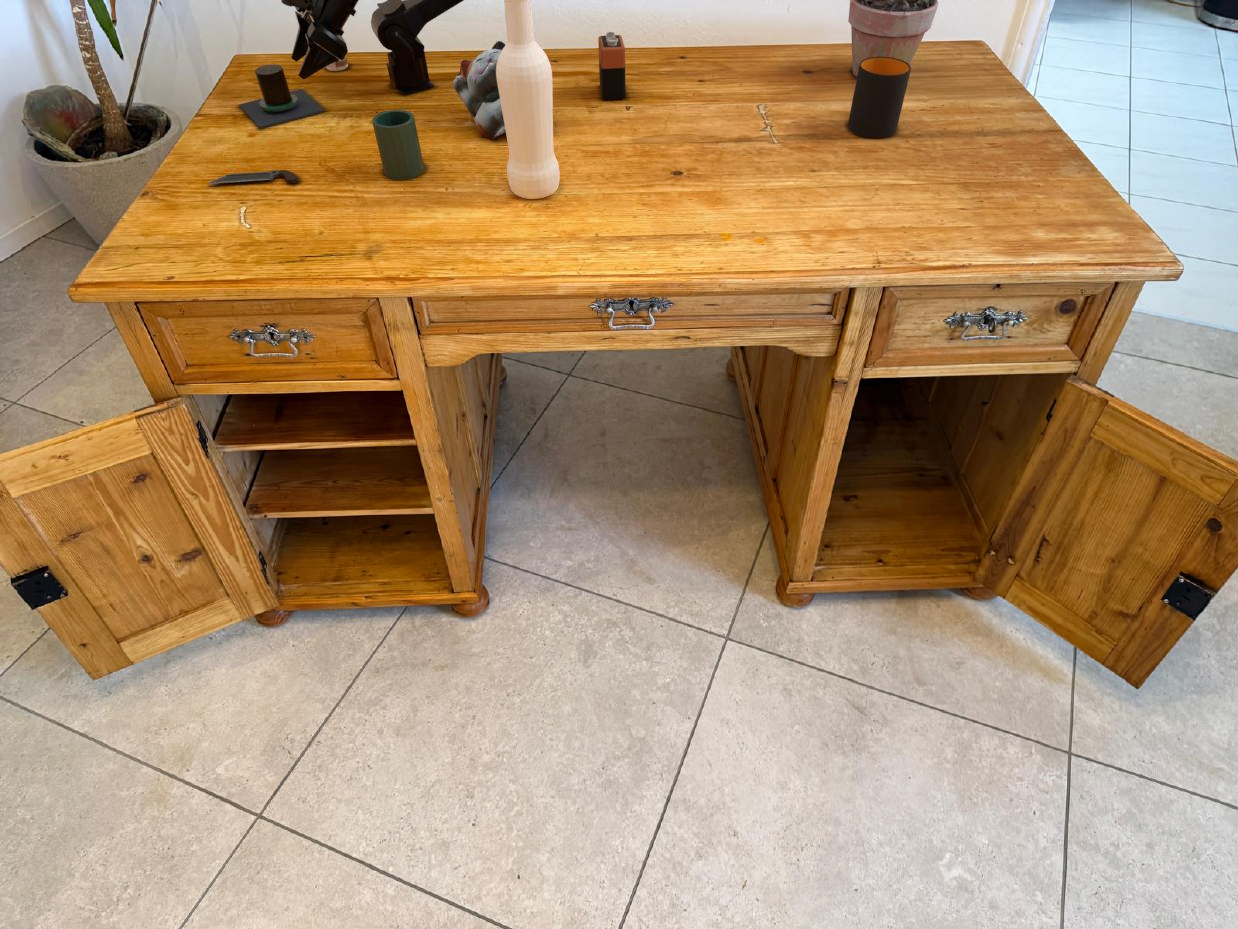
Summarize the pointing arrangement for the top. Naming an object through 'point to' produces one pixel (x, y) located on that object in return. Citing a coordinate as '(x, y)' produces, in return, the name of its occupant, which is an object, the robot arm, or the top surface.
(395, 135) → the can
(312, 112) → the mat
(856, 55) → the potted plant
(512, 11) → the bottle
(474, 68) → the lucky cat figurine
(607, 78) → the battery
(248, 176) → the knife
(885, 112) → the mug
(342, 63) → the pill bottle
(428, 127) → the top surface
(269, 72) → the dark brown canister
